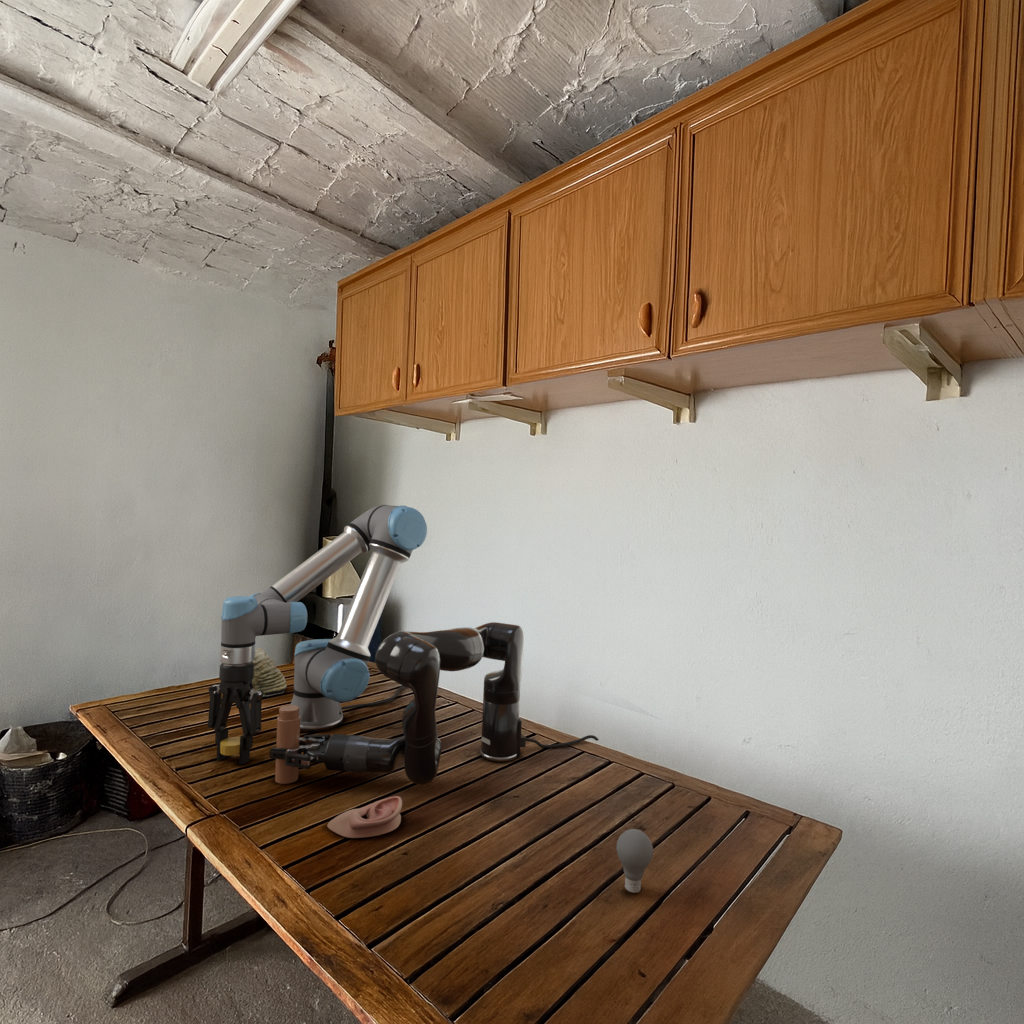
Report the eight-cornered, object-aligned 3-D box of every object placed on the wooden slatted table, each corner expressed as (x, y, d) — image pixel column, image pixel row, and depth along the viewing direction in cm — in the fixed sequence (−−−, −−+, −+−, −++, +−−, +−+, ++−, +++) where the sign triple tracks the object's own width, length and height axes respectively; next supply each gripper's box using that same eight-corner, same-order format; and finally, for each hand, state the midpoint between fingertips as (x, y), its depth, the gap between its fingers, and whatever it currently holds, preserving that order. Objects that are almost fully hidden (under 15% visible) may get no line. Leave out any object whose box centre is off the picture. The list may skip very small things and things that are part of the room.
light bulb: (610, 879, 108) (613, 822, 108) (644, 879, 109) (647, 822, 109) (619, 902, 102) (622, 840, 102) (655, 901, 103) (658, 840, 103)
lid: (251, 748, 151) (251, 738, 151) (234, 757, 146) (235, 747, 146) (231, 744, 153) (232, 735, 153) (214, 753, 148) (214, 743, 148)
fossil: (218, 695, 195) (220, 647, 195) (278, 685, 208) (279, 640, 207) (228, 703, 189) (230, 653, 188) (289, 692, 201) (290, 645, 201)
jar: (296, 783, 139) (299, 711, 139) (272, 784, 138) (275, 711, 138) (299, 773, 144) (302, 704, 144) (277, 774, 143) (279, 704, 143)
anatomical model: (320, 812, 119) (347, 786, 130) (319, 833, 119) (347, 805, 130) (386, 822, 116) (408, 795, 127) (385, 844, 116) (408, 814, 128)
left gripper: (192, 661, 148) (188, 760, 148) (260, 671, 143) (256, 772, 144) (215, 654, 155) (211, 748, 156) (281, 663, 151) (276, 760, 151)
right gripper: (361, 725, 147) (289, 720, 148) (340, 749, 133) (261, 743, 134) (359, 757, 148) (288, 752, 149) (339, 784, 133) (260, 778, 134)
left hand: (233, 760), depth 150 cm, fingers closed on lid, 5 cm apart
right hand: (276, 748), depth 141 cm, fingers closed on jar, 5 cm apart
